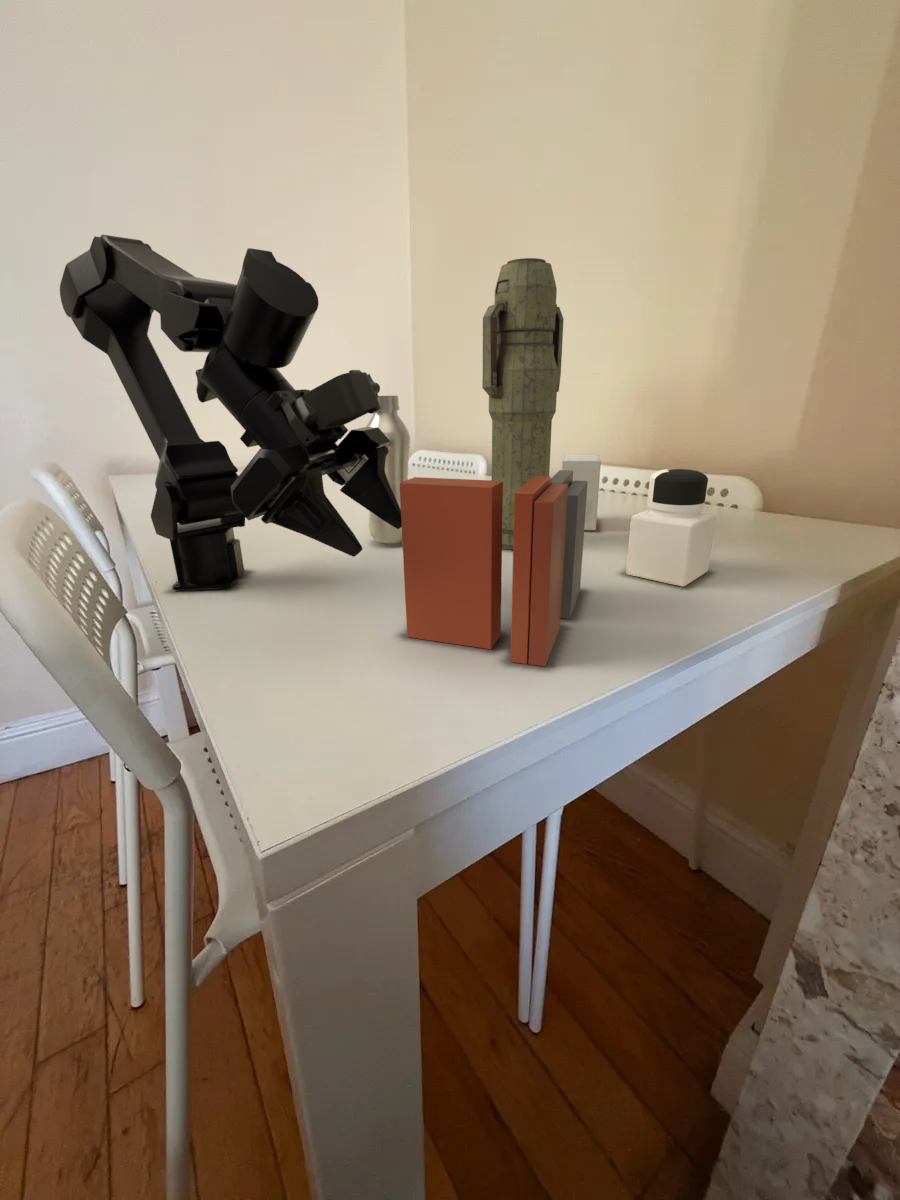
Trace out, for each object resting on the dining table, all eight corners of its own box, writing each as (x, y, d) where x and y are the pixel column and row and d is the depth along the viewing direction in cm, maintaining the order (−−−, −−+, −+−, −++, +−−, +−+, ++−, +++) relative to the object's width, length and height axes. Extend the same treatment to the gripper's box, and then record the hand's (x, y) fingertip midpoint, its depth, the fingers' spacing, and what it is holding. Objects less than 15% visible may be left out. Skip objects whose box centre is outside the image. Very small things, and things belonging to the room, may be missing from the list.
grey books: (540, 615, 56) (546, 482, 51) (553, 589, 63) (559, 470, 58) (570, 619, 55) (578, 484, 50) (579, 591, 62) (588, 470, 57)
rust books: (510, 662, 47) (514, 492, 42) (529, 624, 54) (534, 475, 49) (545, 666, 46) (553, 494, 41) (560, 628, 53) (568, 476, 48)
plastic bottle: (424, 539, 83) (419, 395, 76) (395, 551, 78) (387, 396, 71) (389, 534, 87) (381, 395, 80) (360, 544, 81) (349, 396, 74)
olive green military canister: (466, 543, 81) (465, 262, 69) (523, 529, 88) (532, 272, 76) (511, 556, 75) (518, 249, 62) (568, 540, 82) (586, 261, 69)
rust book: (406, 637, 52) (398, 482, 47) (419, 624, 54) (413, 476, 49) (491, 649, 49) (492, 486, 44) (500, 635, 52) (503, 480, 47)
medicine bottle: (708, 572, 67) (724, 469, 63) (684, 588, 63) (699, 478, 58) (651, 560, 72) (662, 464, 68) (624, 574, 67) (634, 471, 63)
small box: (595, 531, 86) (601, 460, 82) (558, 530, 87) (562, 460, 83) (594, 519, 94) (599, 454, 90) (559, 518, 95) (563, 453, 91)
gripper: (245, 327, 38) (397, 504, 39) (368, 339, 55) (474, 464, 56) (171, 440, 44) (307, 593, 45) (304, 420, 60) (401, 532, 61)
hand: (382, 538), depth 51 cm, fingers open, 9 cm apart
